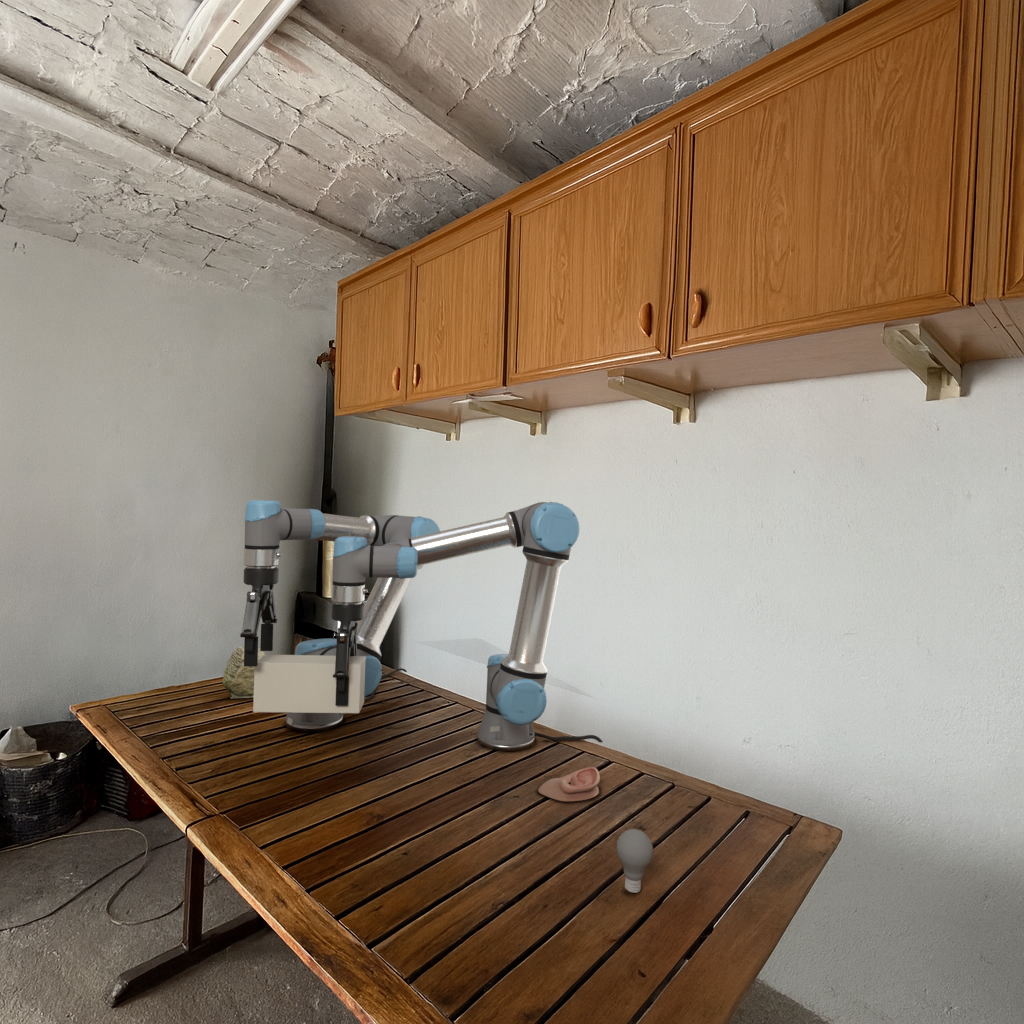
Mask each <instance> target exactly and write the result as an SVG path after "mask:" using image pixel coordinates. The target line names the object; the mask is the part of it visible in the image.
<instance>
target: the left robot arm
mask: <svg viewBox="0 0 1024 1024" xmlns="http://www.w3.org/2000/svg"><path fill="white" fill-rule="evenodd" d="M244 511H245V512H244V549H243V566H245V567H244V569H243V584H245V585H247V586H251V587H252V588H251V591H247V593H246V604H245V609H244V615H243V623H242V627H241V632H240V634H239V636H240V638H244V641H243V642H244V646H243V647H244V666H257V665H258V648H260V651H264V652H273V650H274V649H273V648H274V624H277V623H278V618H277V613H276V603H275V595H274V593H275V592H274V585H276V584H278V582H279V573H280V569H279V568H278V567H277V566H279V564H280V563H279V562H280V558H281V557H282V553H281V552H280V542H281V541H303V540H307V541H310V540H311V541H321V542H322V541H323V542H333V543H334V542H335V540H336V539H337V538H338V537H343V536H355V537H365V538H366V539H367V543H368V545H371V546H383V545H384V544H386V543H387V542H391V541H400V540H405V539H410V538H413V537H418V536H422V535H427V534H431V533H436V532H440V531H441V529H440V528H439V525H438V524H437V523H436V521H434V520H433V519H432V518H429V517H423V516H421V515H418V516H411V515H409V516H408V515H398V514H390V515H389V514H388V515H367V514H363V515H361V516H360V517H357V516H350V515H349V516H348V515H339V514H331V513H323V512H322V511H321V510H319V509H317V508H316V509H315V508H294V507H293V508H291V507H281V502H280V501H279V500H266V499H250V500H249V501H247V503H246V505H245V510H244ZM423 567H424V565H420V566H417V571H418V570H421V569H423ZM411 581H412V578H404V579H401V578H378V577H377V579H376V581H375V583H374V585H373V588H372V589H371V591H370V592H369V596H368V597H367V599H366V602H365V603H364V605H365V612H364V618H363V619H362V620H360V621H356V622H357V624H358V626H357V656H366V660H365V690H364V702H367V701H369V700H371V699H372V698H373V697H374V695H375V694H376V688H377V687H378V686H379V684H380V682H381V680H382V679H383V678H385V677H389V676H391V675H393V674H395V673H397V672H400V671H403V672H405V673H407V672H408V671H407V670H406V669H405V668H404V667H403V668H402V667H401V668H397V669H394V670H393V671H391V672H387V673H386V674H383V671H382V670H383V667H382V664H381V658H382V656H383V655H382V652H381V649H380V647H381V644H382V643H383V640H384V639H385V636H386V634H387V632H388V630H389V628H390V625H391V623H392V621H393V619H394V617H395V615H396V613H397V610H398V608H399V606H400V604H401V602H402V599H403V597H404V595H405V593H406V591H407V588H408V587H409V585H410V583H411ZM260 622H262V623H261V624H260ZM259 627H260V647H259V636H258V631H259ZM336 646H337V638H317V639H316V638H315V639H308V640H304V641H300V642H299V643H298V644H297V645H296V646H295V650H294V651H295V652H294V655H320V656H336ZM395 671H396V672H395ZM368 696H369V697H368ZM366 697H367V698H366ZM343 722H344V713H292V712H286V715H285V726H286V728H287V729H289V730H291V731H294V732H295V731H296V732H301V733H316V732H325V731H329V730H332V729H335V728H337V727H339V726H340V725H342V723H343Z"/></svg>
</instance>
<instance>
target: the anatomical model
mask: <svg viewBox="0 0 1024 1024" xmlns="http://www.w3.org/2000/svg"><path fill="white" fill-rule="evenodd" d="M600 781H601V776H600V772H599V769H597V767H593V766H589V767H585V768H581V769H578V770H575V771H573V772H571V773H569V774H567V775H564V776H561V777H555V778H550V779H548V780H547V781H545V782H543V783H542V784H541V785H540V786H539V787H538V789H537V792H538V793H539V794H540V795H542V796H544V797H547V798H548V799H549V798H550V799H552V800H555V801H558V802H578V801H586V800H590V799H592V798H595V797H596V796H598V795H599V794H600V789H599V786H598V785H599V783H600Z"/></svg>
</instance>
